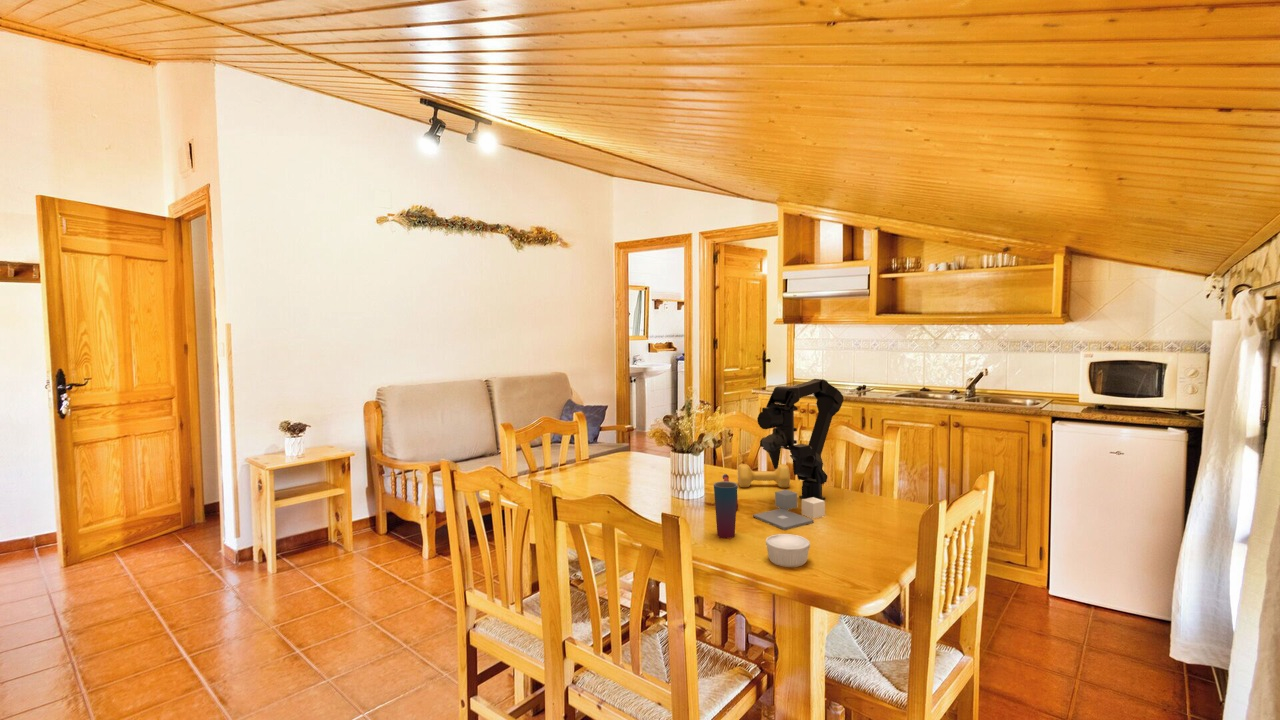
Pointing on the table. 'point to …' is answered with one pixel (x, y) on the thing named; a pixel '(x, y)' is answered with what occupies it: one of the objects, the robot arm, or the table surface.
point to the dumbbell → (764, 475)
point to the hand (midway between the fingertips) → (785, 471)
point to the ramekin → (787, 550)
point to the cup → (725, 508)
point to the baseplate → (783, 519)
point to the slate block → (786, 499)
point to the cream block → (813, 507)
